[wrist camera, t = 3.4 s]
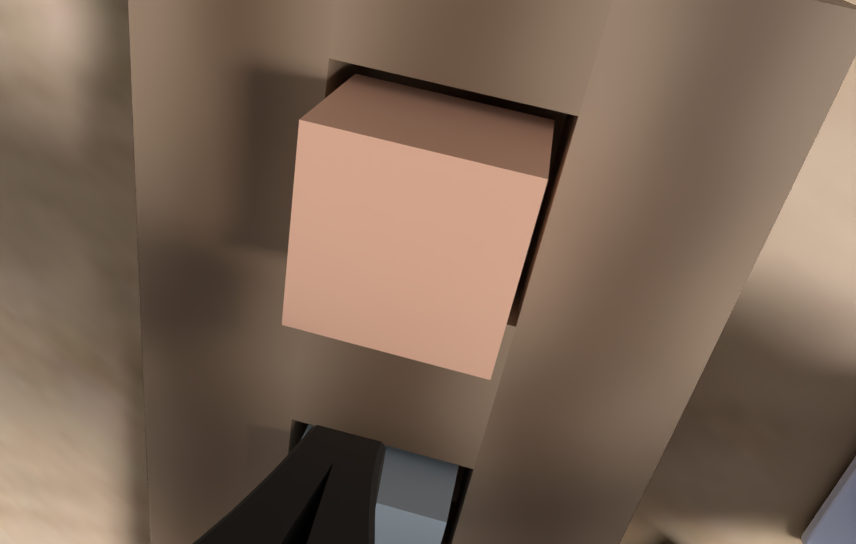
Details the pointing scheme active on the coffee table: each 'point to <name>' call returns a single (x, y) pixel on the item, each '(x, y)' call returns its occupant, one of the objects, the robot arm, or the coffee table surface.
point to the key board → (544, 264)
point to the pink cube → (413, 221)
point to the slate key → (412, 498)
